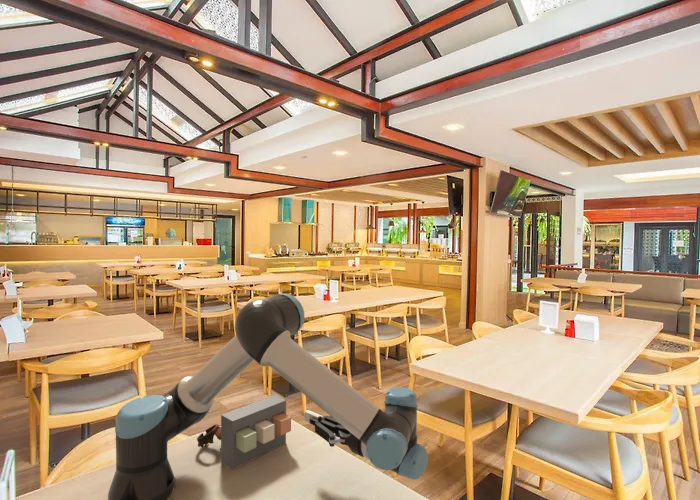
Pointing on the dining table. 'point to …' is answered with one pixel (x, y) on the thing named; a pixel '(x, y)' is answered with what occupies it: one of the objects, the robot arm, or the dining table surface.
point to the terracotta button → (281, 423)
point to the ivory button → (264, 431)
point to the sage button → (245, 439)
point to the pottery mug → (209, 436)
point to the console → (248, 419)
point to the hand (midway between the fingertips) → (306, 415)
